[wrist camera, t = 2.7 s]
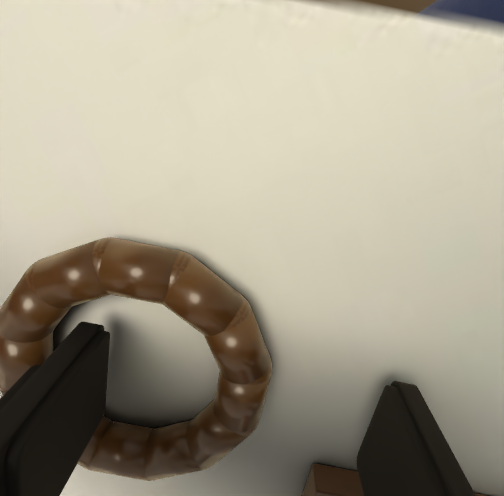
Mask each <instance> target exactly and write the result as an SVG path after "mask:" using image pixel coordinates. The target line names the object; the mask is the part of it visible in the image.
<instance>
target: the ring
mask: <svg viewBox="0 0 504 496" xmlns="http://www.w3.org/2000/svg"><path fill="white" fill-rule="evenodd" d="M110 294H112V295H117V296H122V297H127V298H133V299H138V300H143V301H148V302H153V303H159V304H163V305H164V306H166V307H167V308H168V309H170V310H171V311H172V312H174V313H175V314H176V315H178V316H179V317H180V318H182V319H183V320H185V321H186V322H187V323H189V324H190V325H191V326H193V327H194V328H195V329H197V330H198V331H199V332H201V333H202V334H203V335H204V336H205V338H206V340H207V343H208V345H209V347H210V349H211V352H212V354H213V356H214V358H215V360H216V363H217V365H218V367H219V369H220V375H219V380H218V385H217V390H216V395H215V399H214V400H213V401H212V402H211V403H210V404H209V405H208V406H207V407H206V408H205V409H204V410H202V411H201V412H200V413H199V414H198V415H197V416H196V417H195V418H194V419H193V420H190V421H186V422H182V423H177V424H173V425H169V426H165V427H160V428H156V429H153V428H147V427H142V426H137V425H131V424H126V423H120V422H115V421H111V420H110V419H108V418H106V417H105V416H103V417H102V419H101V421H100V423H99V425H98V427H97V428H96V430H95V432H94V434H93V436H92V438H91V439H90V441H89V443H88V445H87V447H86V448H85V450H84V452H83V454H82V456H81V457H80V459H79V461H78V463H77V464H79V465H80V466H82V467H84V468H86V469H88V470H91V471H97V472H102V473H108V474H113V475H119V476H124V477H129V478H135V479H140V480H146V481H152V480H157V479H162V478H167V477H172V476H176V475H181V474H186V473H190V472H195V471H200V470H205V469H208V468H210V467H211V466H213V465H215V464H216V463H217V462H218V461H219V460H220V459H222V458H223V457H224V456H225V455H226V454H228V453H229V452H230V451H231V450H232V449H233V448H235V447H236V446H237V445H238V444H239V443H241V442H242V441H243V440H244V439H245V438H247V437H248V436H249V435H250V434H251V433H252V432H253V431H254V430H255V429H256V427H257V425H258V423H259V420H260V416H261V412H262V408H263V404H264V401H265V397H266V393H267V389H268V385H269V381H270V377H271V373H272V361H271V358H270V355H269V352H268V350H267V347H266V345H265V342H264V340H263V337H262V335H261V332H260V329H259V327H258V324H257V322H256V319H255V317H254V314H253V312H252V309H251V306H250V304H249V303H248V301H247V300H246V299H245V297H243V296H242V295H241V294H240V293H238V292H237V291H236V290H235V289H233V288H232V287H231V286H230V285H228V284H227V283H226V282H225V281H223V280H222V279H221V278H220V277H218V276H217V275H216V274H214V273H213V272H212V271H211V270H209V269H208V268H207V267H206V266H204V265H203V264H202V263H201V262H199V261H198V260H197V259H195V258H194V257H193V256H191V255H190V254H188V253H186V252H183V251H179V250H174V249H168V248H163V247H158V246H153V245H148V244H143V243H138V242H133V241H128V240H123V239H118V238H103V239H100V240H97V241H94V242H91V243H88V244H85V245H82V246H79V247H76V248H73V249H70V250H67V251H64V252H61V253H58V254H55V255H52V256H49V257H46V258H43V259H41V260H38V261H37V262H35V263H34V264H32V265H31V266H30V267H29V268H28V270H27V271H26V272H25V274H24V275H23V277H22V278H21V279H20V281H19V282H18V284H17V285H16V287H15V288H14V290H13V291H12V292H11V294H10V295H9V297H8V298H7V300H6V301H5V303H4V304H3V305H2V307H1V308H0V391H1V392H2V394H3V395H4V394H5V393H6V392H7V391H8V390H9V389H10V388H11V387H12V386H13V385H14V384H15V383H16V382H17V381H18V380H19V379H20V378H21V376H22V375H23V374H24V373H25V372H26V371H27V370H28V369H29V368H31V367H32V366H34V365H42V364H43V363H44V362H45V361H46V359H47V358H48V357H49V356H50V355H51V354H52V353H53V330H54V329H55V327H56V326H57V325H58V323H59V322H60V321H61V320H62V318H63V317H64V316H65V314H66V313H67V312H68V311H69V309H70V308H71V307H72V306H74V305H78V304H81V303H84V302H87V301H91V300H94V299H97V298H100V297H104V296H107V295H110Z"/></svg>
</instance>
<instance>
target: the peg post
mask: <svg viewBox="0 0 504 496" xmlns="http://www.w3.org/2000/svg"><path fill="white" fill-rule="evenodd" d="M474 494H475V495H476V496H487V495H482V494H477V493H474ZM302 496H364V493H363V489H362V485H361V481H360V477H359V473H358V471H353V470H348V469H342V468H337V467H331V466H326V465H321V464H315V463H314V464H313V465H312V468H311V471H310V473H309V476H308V479H307V482H306V485H305V488H304V491H303V494H302Z"/></svg>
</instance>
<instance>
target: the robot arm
mask: <svg viewBox="0 0 504 496" xmlns="http://www.w3.org/2000/svg"><path fill="white" fill-rule="evenodd" d="M109 340H110V334H109V332H106V331H104V326H102V325H98V324H93V323H88V322H81V323H79V324H78V325H77V326H76V328H75V329H74V330H73V331H72V332H71V333H70V334H69V335H68V336H67V337H66V339H65V340H64V341H63V342H62V343H61V344H60V345H59V346H58V347H57V348H56V350H55V351H54V352H53V353H52V354H51V355H50V356H49V357H48V358H47V359H46V361H45V362H44V363H43V364H42V365H34V366H32V367H31V368H29V369H28V370H27V371H26V372H25V373H24V374H23V375H22V376H21V378H20V379H19V380H18V381H17V382H16V383H15V384H14V385H13V386H12V387H11V388H10V389H9V390H8V391H7V392H6V393H5V394H4V396H3V397H2V398H1V399H0V496H59V495H60V494H61V492H62V490H63V488H64V486H65V485H66V483H67V481H68V479H69V477H70V476H71V474H72V472H73V470H74V468H75V467H76V465H77V463H78V461H79V459H80V457H81V456H82V454H83V452H84V450H85V448H86V447H87V445H88V443H89V441H90V439H91V438H92V436H93V434H94V432H95V430H96V428H97V427H98V425H99V423H100V421H101V419H102V417H103V414H104V411H105V404H106V388H107V372H108V356H109ZM357 468H358V473H359V477H360V481H361V485H362V489H363V493H364V496H476V495H475V494H474V492H473V490H472V488H471V486H470V484H469V482H468V481H467V479H466V477H465V475H464V473H463V471H462V469H461V467H460V466H459V464H458V462H457V460H456V458H455V456H454V454H453V453H452V451H451V449H450V447H449V445H448V443H447V441H446V439H445V438H444V436H443V434H442V432H441V430H440V428H439V426H438V424H437V423H436V421H435V419H434V417H433V415H432V413H431V411H430V410H429V408H428V406H427V404H426V402H425V400H424V398H423V396H422V395H421V393H420V391H419V389H418V388H417V386H415V385H413V384H408V383H402V382H397V381H394V382H392V383H391V385H386V386H385V388H384V390H383V392H382V395H381V397H380V400H379V402H378V404H377V407H376V409H375V412H374V414H373V417H372V419H371V422H370V424H369V427H368V429H367V432H366V434H365V437H364V439H363V442H362V444H361V447H360V449H359V452H358V455H357Z"/></svg>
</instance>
